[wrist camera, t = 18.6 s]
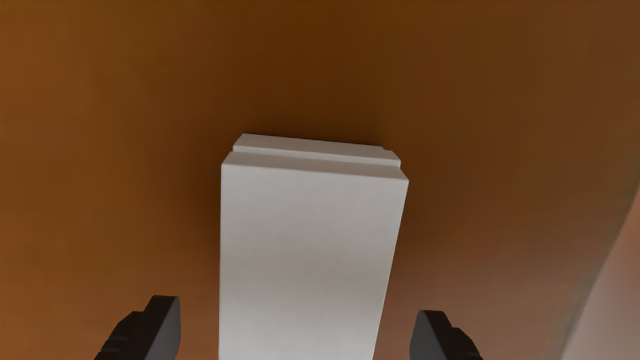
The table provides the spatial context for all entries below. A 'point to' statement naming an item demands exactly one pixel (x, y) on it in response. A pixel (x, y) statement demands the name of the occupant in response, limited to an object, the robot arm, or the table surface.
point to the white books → (315, 150)
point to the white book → (305, 256)
